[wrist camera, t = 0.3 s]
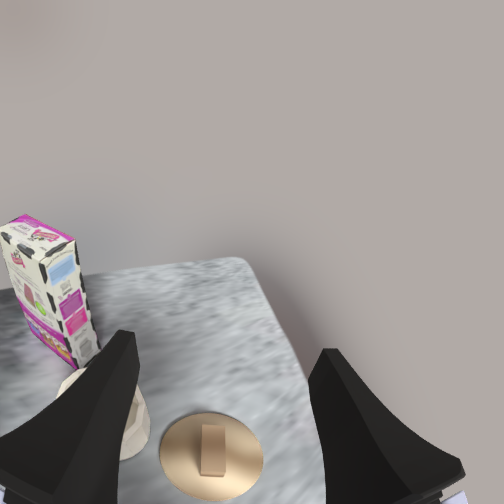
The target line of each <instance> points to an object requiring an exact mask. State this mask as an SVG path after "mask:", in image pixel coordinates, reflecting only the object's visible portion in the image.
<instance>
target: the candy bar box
mask: <svg viewBox="0 0 504 504" xmlns="http://www.w3.org/2000/svg"><path fill="white" fill-rule="evenodd" d="M0 245H1V248H2V252H3V256H4V260H5V263H6V266H7V269H8V272H9V276H10V278H11V281H12V284H13V287H14V290H15V293H16V295H17V298H18V301H19V303H20V306H21V308H22V311H23V313H24V315H25V318H26V320H27V322H28V324H29V327H30V329H31V331H32V333H33V334H34V335H35V336H37V337H38V338H39V339H40V340H41V341H42V342H43V343H44V344H46V345H47V346H48V347H49V348H50V349H51V350H53V351H54V352H55V353H56V354H57V355H58V356H60V357H61V358H62V359H63V360H65V361H66V362H67V363H68V364H70V365H71V366H72V367H73V368H75V369H76V370H78V369H83V368H85V367H86V366H87V365H88V364H89V363H90V362H91V361H92V360H93V359H94V358H95V357H96V356H97V355H98V353H99V352H100V351H101V347H100V344H99V341H98V338H97V334H96V331H95V327H94V324H93V321H92V317H91V313H90V309H89V305H88V302H87V297H86V292H85V288H84V283H83V279H82V274H81V269H80V264H79V258H78V252H77V246H76V239H75V238H73V237H71V236H69V235H67V234H64V233H62V232H60V231H58V230H56V229H54V228H52V227H50V226H48V225H46V224H44V223H42V222H40V221H38V220H36V219H34V218H32V217H30V216H28V215H27V214H25V215H23V216H20V217H18V218H16V219H14V220H12V221H11V222H9V223H7V224H5V225H4V226H2V227H0Z"/></svg>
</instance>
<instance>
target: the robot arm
mask: <svg viewBox="0 0 504 504" xmlns="http://www.w3.org/2000/svg"><path fill="white" fill-rule="evenodd" d="M139 369H140V363H139V357H138V352H137V346H136V339H135V333H134V332H130V331H124V330H118V331H117V332H116V333H115V335H114V336H113V337H112V338H111V340H110V341H109V342H108V343H107V345H106V346H105V347H104V348H103V350H102V351H101V352H100V353H99V354H98V356H97V357H96V358H95V359H94V360H93V362H92V363H91V364H90V365H89V366H88V367H87V368H86V370H85V371H84V372H83V373H82V374H81V375H80V376H79V377H78V378H77V379H76V380H75V381H74V382H73V383H72V384H71V386H70V387H69V388H68V389H66V390H65V391H64V392H63V393H62V394H61V395H60V396H59V397H58V398H57V399H56V400H55V401H53V402H52V403H51V404H50V405H49V406H47V407H46V408H45V409H44V410H42V411H41V412H40V413H39V414H37V415H36V416H35V417H33V418H32V419H30V420H29V421H27V422H26V423H24V424H23V425H21V426H20V427H18V428H16V429H15V430H13V431H11V432H10V433H8V434H6V435H4V436H2V437H0V484H1V485H2V486H4V487H5V488H6V489H5V490H4V489H2V488H0V504H117V489H118V472H119V460H120V452H121V444H122V439H123V434H124V430H125V427H126V423H127V419H128V416H129V412H130V409H131V405H132V402H133V398H134V395H135V391H136V387H137V381H138V375H139ZM308 384H309V394H310V402H311V406H312V410H313V414H314V418H315V422H316V426H317V431H318V435H319V439H320V443H321V447H322V453H323V461H324V470H325V484H326V504H468V502H467V499H466V496H465V493H464V491H463V490H462V491H460V492H458V493H456V494H454V495H453V496H451V497H449V498H447V499H445V500H444V501H442V502H440V500H439V498H441V497H442V496H443V494H442V491H441V490H443V489H445V488H447V487H449V486H450V485H452V484H454V483H455V482H457V481H459V480H460V479H462V478H464V477H465V475H466V474H465V472H464V469H463V466H462V464H461V461H460V459H459V458H456V457H454V456H452V455H450V454H448V453H446V452H444V451H442V450H440V449H439V448H437V447H435V446H434V445H432V444H430V443H429V442H427V441H426V440H424V439H423V438H421V437H420V436H419V435H417V434H416V433H415V432H413V431H412V430H411V429H409V428H408V427H407V426H406V425H404V424H403V423H402V422H401V421H400V420H399V419H398V418H396V416H394V415H393V414H392V413H391V412H390V411H389V410H388V409H387V408H386V407H385V406H384V405H383V404H382V403H381V401H380V400H379V399H378V398H377V397H376V396H375V395H374V394H373V393H372V392H371V390H370V389H369V388H368V387H367V385H366V384H365V383H364V382H363V381H362V379H361V378H360V377H359V376H358V375H357V373H356V372H355V371H354V369H353V368H352V367H351V365H350V364H349V363H348V362H347V360H346V359H345V358H344V356H343V355H342V354H341V353H340V352H339V350H338V349H323V350H322V352H321V354H320V356H319V358H318V361H317V363H316V364H315V366H314V368H313V370H312V372H311V374H310V377H309V378H308Z"/></svg>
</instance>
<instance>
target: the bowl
mask: <svg viewBox="0 0 504 504" xmlns="http://www.w3.org/2000/svg"><path fill="white" fill-rule="evenodd" d="M85 370H86V368H83V369H78V370H77V371H75V372H74V373H73V374H72V375H71V376H69V377H68V378H67V379H66V380H65V381H63V382H62V384H61V387H60V389H59V392H58V395H57V398H58V397H59V396H60V395H61V394H62V393H63V392H64V391H65V390H66V389H68V388H69V387H70V386H71V384H72V383H73V382H74V381H75V380H76V379H77V378H78V377H79V376H80V375H81V374H82V373H83V372H84V371H85ZM57 398H56V399H57ZM150 423H151V420H150V417H149V414H148V410H147V407H146V404H145V401H144V399H143V396H142V394H141V392H140V389H139V387H138V384H137V387H136V391H135V395H134V398H133V402H132V405H131V409H130V412H129V416H128V419H127V423H126V427H125V430H124V434H123V439H122V444H121V452H120V460H119V461H122V460H126V459H129V458H131V457H133V456H135V455H136V454H138V453H139V452H140V451H141V450H142V449H143V448H144V446H145V445H146V443H147V441H148V439H149V435H150Z"/></svg>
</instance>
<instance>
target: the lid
mask: <svg viewBox="0 0 504 504" xmlns="http://www.w3.org/2000/svg"><path fill="white" fill-rule="evenodd" d="M160 461H161V464H162V468H163V470H164V472H165V474H166V476H167V477H168V479H169V480H170V481H171V482H172V483H173V485H175V486H176V487H177V488H178V489H179V490H181V491H182V492H184V493H186V494H188V495H190V496H192V497H195V498H197V499H202V500H207V501H222V500H228V499H231V498H234V497H237V496H239V495H241V494H243V493H244V492H246V491H247V490H248V489H250V488H251V487H252V486H253V485H254V483H255V482H256V481H257V479H258V478H259V476H260V474H261V470H262V467H263V453H262V449H261V446H260V444H259V441H258V440H257V438H256V437H255V435H254V434H253V433H252V432H251V431H250V430H249V429H248V428H247V427H246V426H245V425H243V424H242V423H240V422H239V421H237V420H235V419H233V418H231V417H228V416H225V415H221V414H214V413H200V414H195V415H191V416H188V417H185V418H183V419H181V420H180V421H178V422H176V423H175V424H174V425H173V426H172V427H171V428H170V429H169V430H168V431H167V432H166V434H165V436H164V438H163V440H162V443H161V447H160Z"/></svg>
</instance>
